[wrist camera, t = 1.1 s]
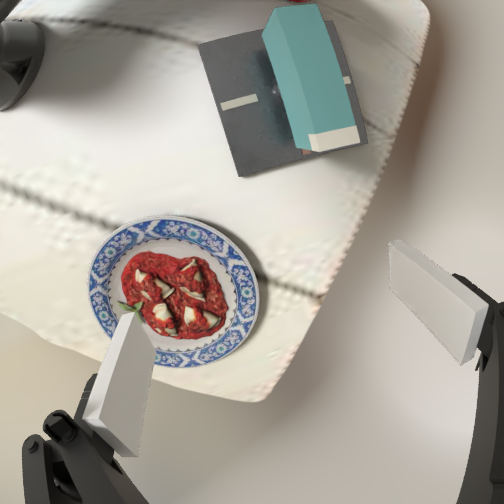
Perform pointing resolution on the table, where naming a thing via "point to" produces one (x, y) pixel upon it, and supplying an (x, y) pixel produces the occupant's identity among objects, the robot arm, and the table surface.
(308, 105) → the teal latch lever
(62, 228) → the table surface
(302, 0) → the soda can
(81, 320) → the table surface
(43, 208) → the table surface
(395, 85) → the table surface
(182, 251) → the ceramic plate
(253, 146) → the plate
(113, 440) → the robot arm
